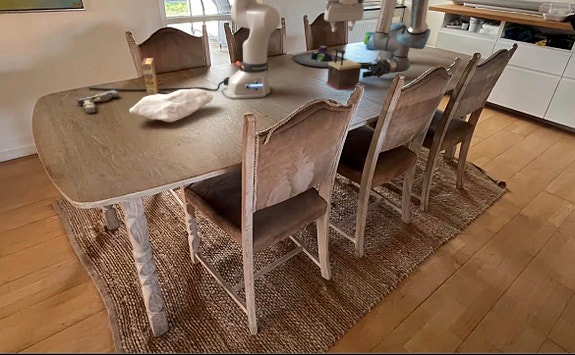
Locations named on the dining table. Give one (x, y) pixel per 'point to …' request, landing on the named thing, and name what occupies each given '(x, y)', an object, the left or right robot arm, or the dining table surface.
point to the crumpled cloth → (171, 104)
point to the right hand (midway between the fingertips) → (354, 71)
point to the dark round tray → (316, 58)
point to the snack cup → (368, 39)
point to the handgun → (95, 100)
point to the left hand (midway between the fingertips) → (342, 30)
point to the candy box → (150, 76)
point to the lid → (343, 62)
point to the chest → (343, 77)
